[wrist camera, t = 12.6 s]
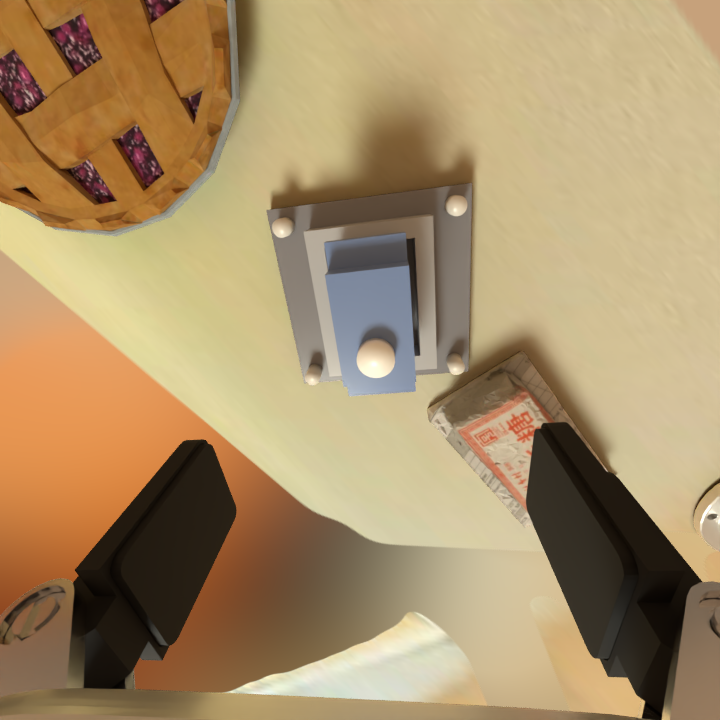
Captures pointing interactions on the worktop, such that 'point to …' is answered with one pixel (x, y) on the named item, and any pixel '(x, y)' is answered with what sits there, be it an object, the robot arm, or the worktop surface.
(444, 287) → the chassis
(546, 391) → the packaged product
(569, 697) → the worktop surface
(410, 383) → the block
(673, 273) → the worktop surface
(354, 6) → the worktop surface
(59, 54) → the pie
